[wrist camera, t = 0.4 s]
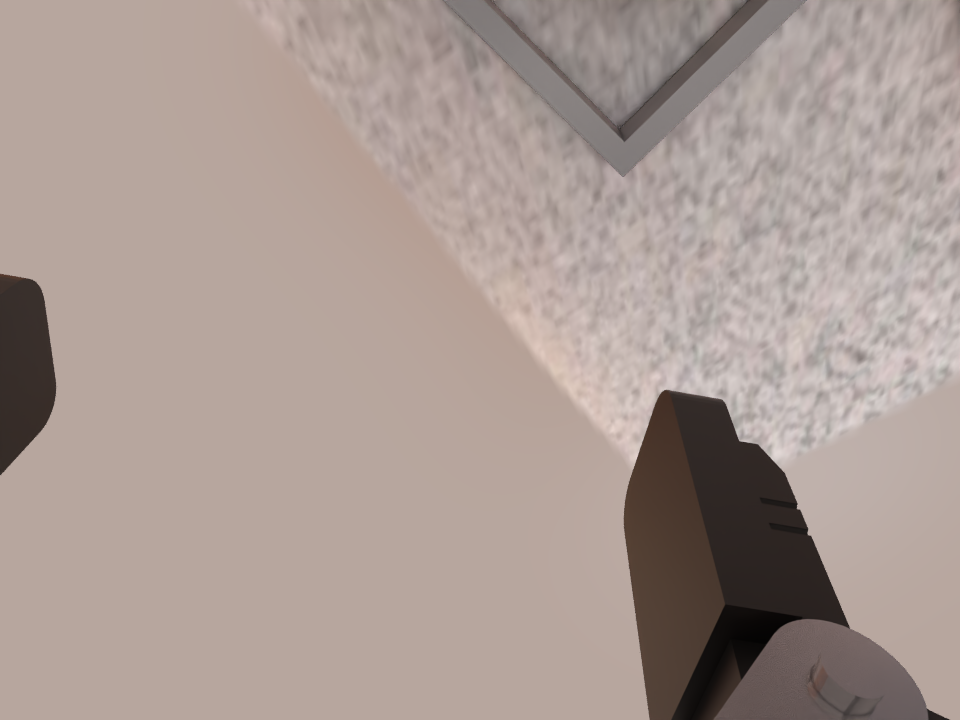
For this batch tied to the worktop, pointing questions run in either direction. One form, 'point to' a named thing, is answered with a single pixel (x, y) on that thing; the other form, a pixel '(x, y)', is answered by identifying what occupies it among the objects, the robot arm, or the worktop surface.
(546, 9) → the worktop surface
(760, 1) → the rectangular frame
